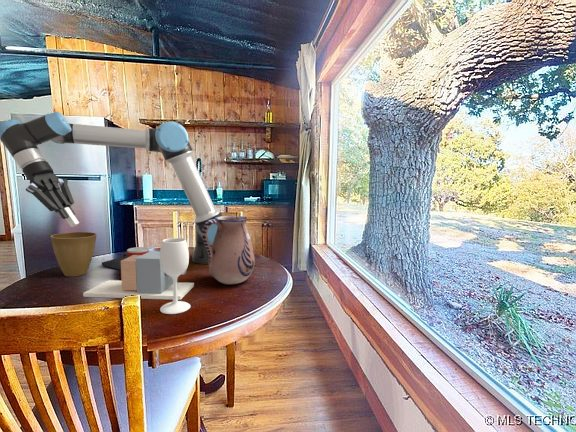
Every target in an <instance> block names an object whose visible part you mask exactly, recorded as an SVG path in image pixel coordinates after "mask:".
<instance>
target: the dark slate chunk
mask: <svg viewBox="0 0 576 432" xmlns="http://www.w3.org/2000/svg"><path fill="white" fill-rule="evenodd" d="M126 258H127V251H126V252H124V253H123V255H122V256H121V257H117V258H113V259H110V260H106V261H105V260H104V261H102V262H101V266H103V267H107V268H108V267H109V268H112V269H114V270H119V271H121V260H124V259H126Z"/></svg>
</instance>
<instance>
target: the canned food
mask: <svg viewBox="0 0 576 432" xmlns="http://www.w3.org/2000/svg"><path fill="white" fill-rule="evenodd" d="M149 249H150V248H149V247H145V246H137V247H130V248H128V249H127V250H126V252H127V258H128V257H130V256H132V255H144V254H146V253H148V252H150V250H149Z"/></svg>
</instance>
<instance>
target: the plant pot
mask: <svg viewBox="0 0 576 432" xmlns="http://www.w3.org/2000/svg"><path fill="white" fill-rule="evenodd" d="M97 236H98V235H97V233H96V232H91V231H75V232H74V231H73V232H61V233H56V234H51V235H50V241H51V245H52V249H53V253H54V256H55V259H56V261H57V263H58V266H59V268H60V270H61V272H62V273H63V275H64V276H65V277H77V276H78V277H80V276H83V275H85V274H87V273H88V270H89V267H90V265H91V263H92V260H93V256H94V251H95V248H96V239H97Z"/></svg>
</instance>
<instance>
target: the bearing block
mask: <svg viewBox="0 0 576 432" xmlns="http://www.w3.org/2000/svg"><path fill="white" fill-rule="evenodd" d="M136 277H137V291H136V290H122V280H113V279H112V280H110V279H108V280H106V281H103V282H102V283H99V284H97V285H96V286H94V287H92V288H90V289H88V290H87V291H84V292H83V293H82V297H84V298H109V299H111V298H114V299H124V298H123V297H125V296H131V295H140V296H141V300H143V299H144V300H146V299H148V300H168V301H169V300H170V301H171V300H172V301H173V279H172V277H171V276H169V275H167V274H165V273H164V272H163V270H162V269H161V266H160V250H159V251H156V250H149V252H148V253H146V254H144V255H142V256H139V257H137V258H136ZM194 287H195V282H179V281H177V299H178V301H182V299H183V298H184V297H185V296H186V295H187V294H188V293H189V292H190V291H191V290H192V289H193V288H194Z"/></svg>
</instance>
